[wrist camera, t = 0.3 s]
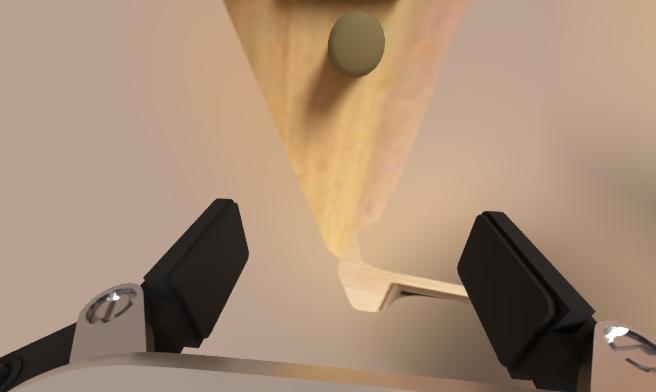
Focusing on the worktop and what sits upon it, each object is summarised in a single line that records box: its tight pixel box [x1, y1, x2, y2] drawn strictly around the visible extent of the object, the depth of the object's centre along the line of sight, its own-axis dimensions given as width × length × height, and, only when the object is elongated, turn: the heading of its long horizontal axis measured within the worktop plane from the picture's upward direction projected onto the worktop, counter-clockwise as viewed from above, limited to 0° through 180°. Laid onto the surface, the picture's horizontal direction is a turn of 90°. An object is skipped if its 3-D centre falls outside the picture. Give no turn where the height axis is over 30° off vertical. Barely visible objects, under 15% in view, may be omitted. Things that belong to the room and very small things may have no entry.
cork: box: [328, 11, 385, 77], centre depth 25 cm, size 6×6×11 cm
